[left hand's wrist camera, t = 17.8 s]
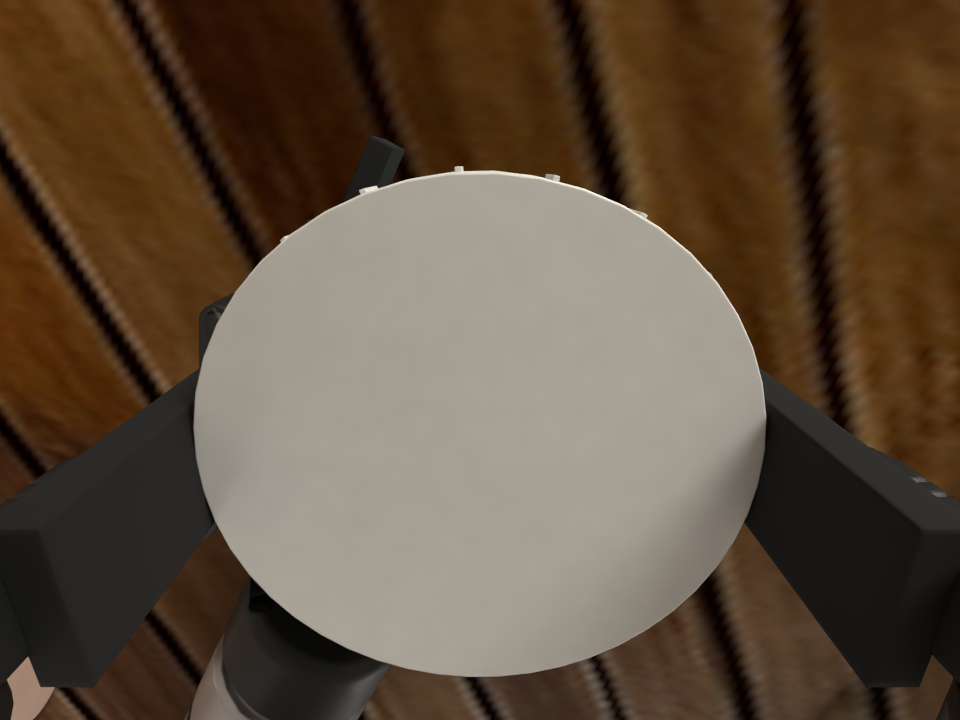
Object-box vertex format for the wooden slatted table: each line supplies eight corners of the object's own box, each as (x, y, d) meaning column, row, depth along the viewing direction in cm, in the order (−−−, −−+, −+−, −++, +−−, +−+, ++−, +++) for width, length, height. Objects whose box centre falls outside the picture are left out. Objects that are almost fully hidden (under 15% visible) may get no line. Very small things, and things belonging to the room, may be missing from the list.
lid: (742, 581, 13) (778, 637, 12) (321, 651, 14) (301, 713, 13) (714, 106, 10) (760, 95, 8) (143, 240, 10) (83, 253, 9)
